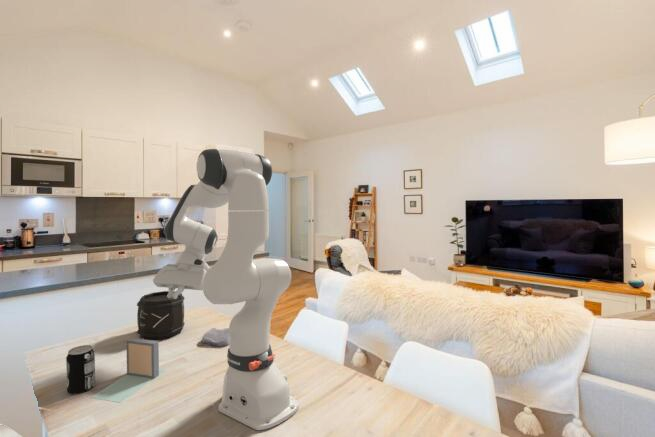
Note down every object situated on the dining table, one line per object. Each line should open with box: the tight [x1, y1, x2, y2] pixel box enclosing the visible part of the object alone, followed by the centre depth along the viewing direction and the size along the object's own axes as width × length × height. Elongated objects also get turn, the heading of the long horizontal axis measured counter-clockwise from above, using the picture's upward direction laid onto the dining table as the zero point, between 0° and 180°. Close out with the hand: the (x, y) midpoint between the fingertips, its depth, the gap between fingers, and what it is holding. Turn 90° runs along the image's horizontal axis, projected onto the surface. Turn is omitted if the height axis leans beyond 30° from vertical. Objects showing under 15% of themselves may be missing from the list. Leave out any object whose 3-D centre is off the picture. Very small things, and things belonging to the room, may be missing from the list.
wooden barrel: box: [136, 290, 186, 341], centre depth 137 cm, size 18×18×16 cm
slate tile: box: [125, 337, 160, 380], centre depth 103 cm, size 2×10×11 cm, turn 77°
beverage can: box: [65, 344, 96, 395], centre depth 96 cm, size 7×7×12 cm
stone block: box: [201, 327, 229, 347], centre depth 131 cm, size 12×5×10 cm
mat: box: [90, 368, 167, 403], centre depth 99 cm, size 10×18×1 cm, turn 167°
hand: (171, 298), depth 116 cm, fingers closed
